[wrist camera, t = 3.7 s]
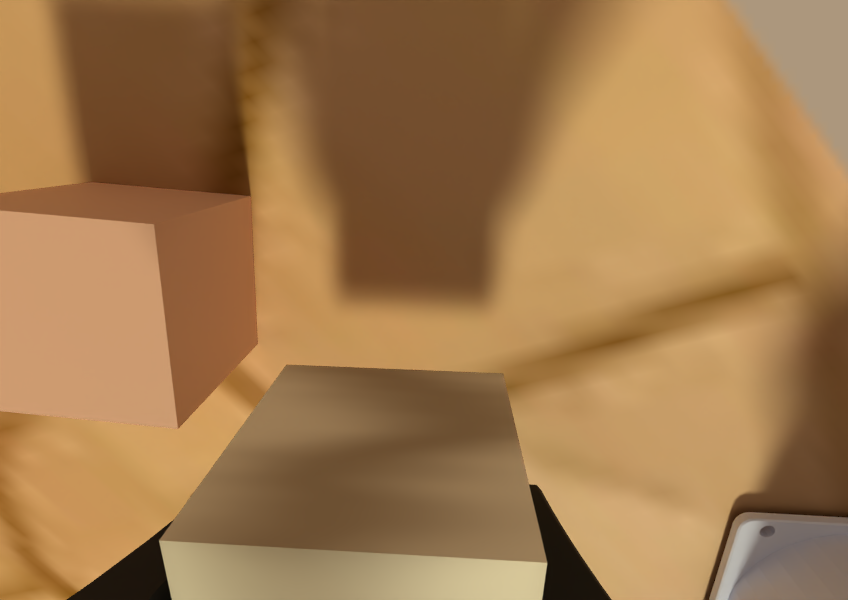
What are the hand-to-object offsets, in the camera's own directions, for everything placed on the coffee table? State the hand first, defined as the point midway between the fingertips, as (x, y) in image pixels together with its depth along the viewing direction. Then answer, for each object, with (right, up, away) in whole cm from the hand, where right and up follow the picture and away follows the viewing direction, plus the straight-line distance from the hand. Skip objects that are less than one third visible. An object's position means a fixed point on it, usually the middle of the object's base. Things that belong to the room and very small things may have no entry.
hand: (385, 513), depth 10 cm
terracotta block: (-7, +6, +5) cm, 11 cm away
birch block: (0, +1, +2) cm, 2 cm away
